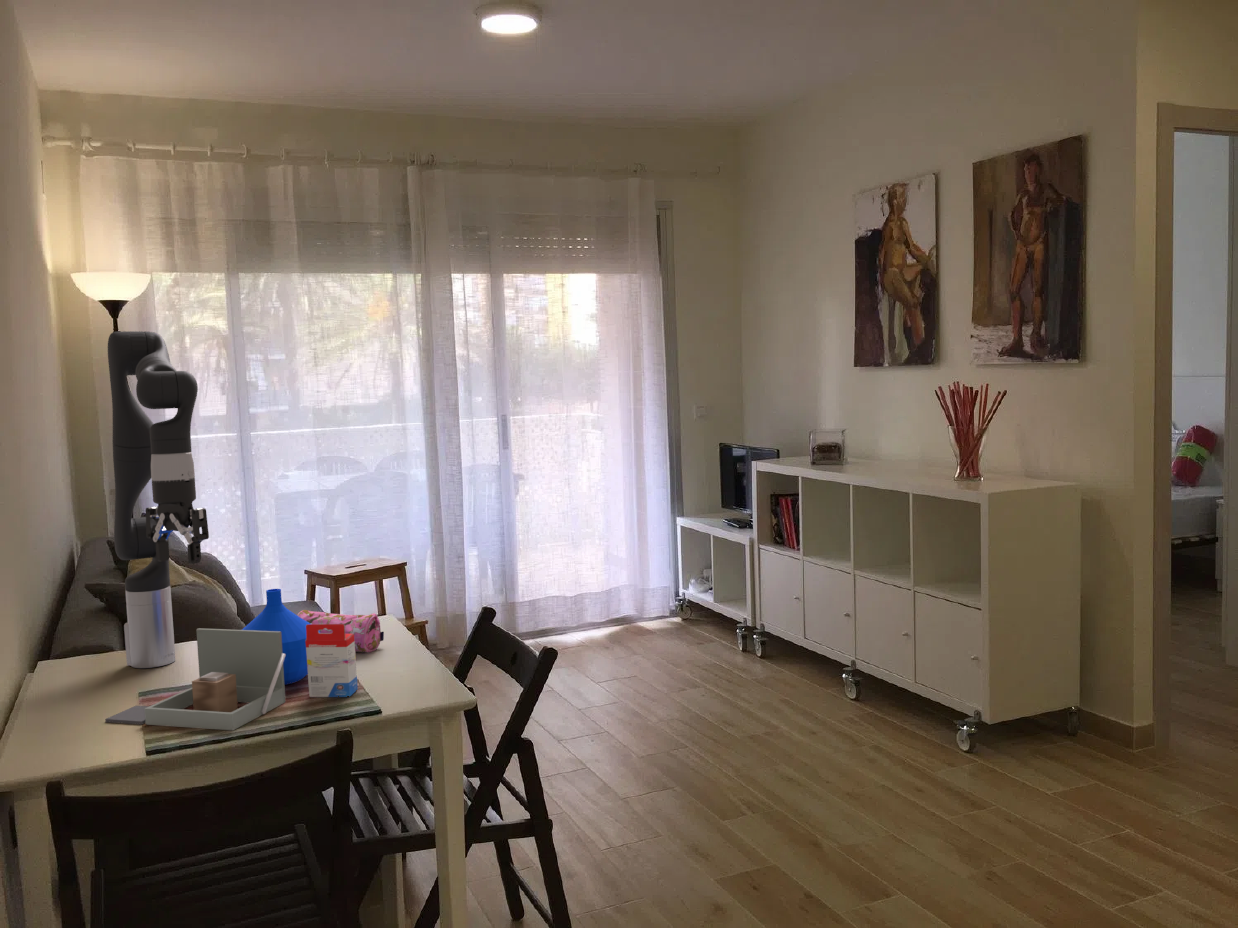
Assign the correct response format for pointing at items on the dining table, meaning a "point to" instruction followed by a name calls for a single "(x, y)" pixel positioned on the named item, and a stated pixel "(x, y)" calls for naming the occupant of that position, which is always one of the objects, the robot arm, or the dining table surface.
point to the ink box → (330, 661)
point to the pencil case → (350, 627)
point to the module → (215, 692)
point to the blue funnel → (284, 634)
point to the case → (255, 673)
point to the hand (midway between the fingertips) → (179, 561)
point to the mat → (129, 716)
